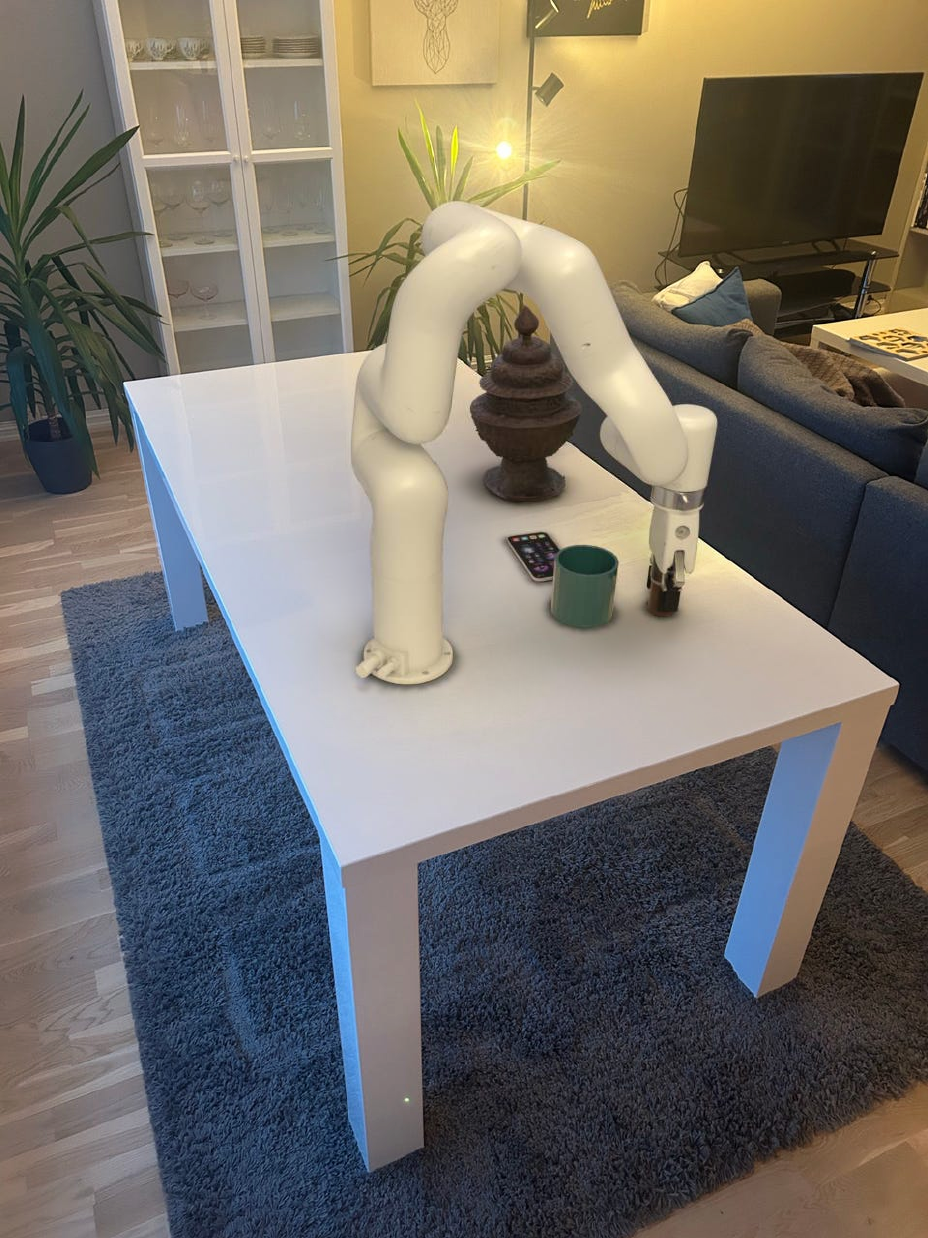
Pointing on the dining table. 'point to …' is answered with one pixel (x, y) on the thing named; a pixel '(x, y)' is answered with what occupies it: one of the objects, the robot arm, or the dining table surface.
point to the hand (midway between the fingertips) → (661, 598)
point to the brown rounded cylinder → (656, 588)
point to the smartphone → (535, 553)
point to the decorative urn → (525, 415)
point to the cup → (584, 585)
